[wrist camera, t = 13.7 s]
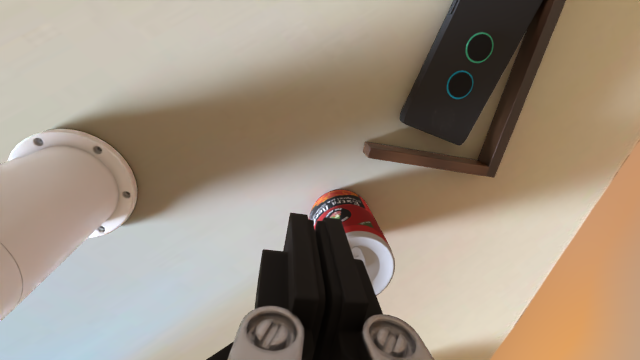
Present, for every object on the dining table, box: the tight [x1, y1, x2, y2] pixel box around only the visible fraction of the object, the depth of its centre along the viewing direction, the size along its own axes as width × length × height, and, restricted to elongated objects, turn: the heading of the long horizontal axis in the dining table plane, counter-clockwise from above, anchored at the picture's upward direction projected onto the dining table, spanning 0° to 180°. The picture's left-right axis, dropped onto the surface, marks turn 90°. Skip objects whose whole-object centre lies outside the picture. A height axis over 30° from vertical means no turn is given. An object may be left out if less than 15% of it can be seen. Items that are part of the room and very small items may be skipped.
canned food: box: [309, 190, 395, 296], centre depth 36 cm, size 8×8×11 cm
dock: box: [363, 0, 566, 177], centre depth 34 cm, size 16×26×2 cm, turn 169°
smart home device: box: [400, 0, 543, 145], centre depth 35 cm, size 8×2×20 cm
